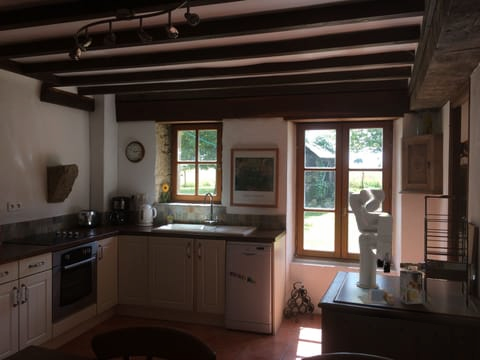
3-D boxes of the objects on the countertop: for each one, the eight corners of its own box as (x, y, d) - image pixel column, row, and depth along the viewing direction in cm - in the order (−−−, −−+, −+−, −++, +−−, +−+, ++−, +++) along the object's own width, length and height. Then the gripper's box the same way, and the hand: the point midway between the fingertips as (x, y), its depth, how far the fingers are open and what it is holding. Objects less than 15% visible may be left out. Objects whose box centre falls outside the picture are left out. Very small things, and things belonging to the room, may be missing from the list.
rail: (381, 296, 205) (381, 289, 204) (385, 296, 204) (385, 289, 204) (389, 304, 193) (389, 296, 192) (393, 304, 192) (393, 296, 192)
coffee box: (414, 299, 201) (415, 269, 200) (422, 303, 194) (423, 272, 194) (399, 300, 199) (399, 270, 199) (406, 304, 193) (407, 273, 192)
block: (379, 298, 201) (368, 298, 201) (380, 289, 200) (369, 288, 201) (382, 300, 197) (371, 300, 197) (382, 291, 196) (371, 291, 197)
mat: (357, 296, 204) (357, 295, 204) (380, 297, 204) (380, 296, 204) (363, 303, 193) (363, 302, 193) (387, 303, 193) (387, 303, 193)
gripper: (372, 234, 207) (371, 265, 208) (383, 241, 190) (382, 274, 190) (385, 235, 207) (384, 265, 208) (398, 241, 189) (397, 275, 190)
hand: (383, 270), depth 199 cm, fingers open, 9 cm apart
